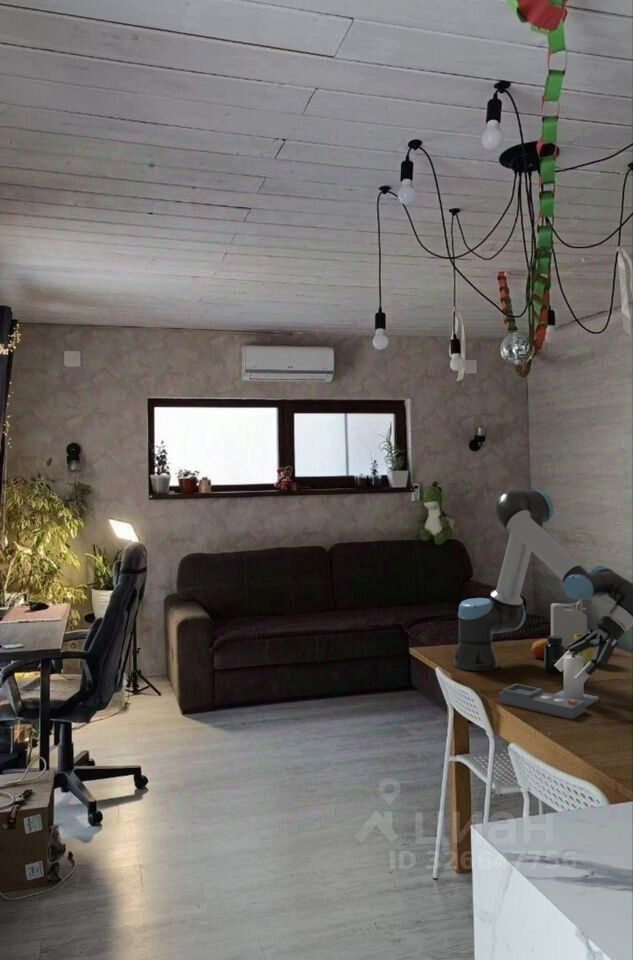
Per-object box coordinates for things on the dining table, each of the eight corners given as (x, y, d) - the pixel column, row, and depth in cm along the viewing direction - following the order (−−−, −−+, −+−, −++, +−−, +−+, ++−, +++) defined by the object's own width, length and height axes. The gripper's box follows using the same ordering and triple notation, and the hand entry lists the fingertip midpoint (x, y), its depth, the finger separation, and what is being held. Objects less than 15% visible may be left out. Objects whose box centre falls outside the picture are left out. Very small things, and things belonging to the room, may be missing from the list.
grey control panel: (499, 702, 208) (499, 689, 208) (513, 695, 215) (513, 682, 215) (572, 719, 193) (572, 704, 193) (585, 711, 200) (585, 697, 200)
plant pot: (597, 659, 260) (597, 632, 260) (609, 666, 250) (609, 638, 250) (569, 659, 260) (569, 633, 260) (581, 666, 249) (580, 639, 249)
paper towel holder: (560, 697, 211) (560, 651, 211) (568, 693, 215) (568, 648, 215) (579, 701, 207) (578, 654, 207) (586, 697, 211) (586, 651, 211)
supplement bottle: (555, 675, 238) (554, 639, 238) (540, 670, 244) (539, 636, 244) (569, 672, 241) (569, 637, 241) (554, 668, 247) (554, 634, 247)
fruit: (556, 658, 256) (544, 637, 258) (537, 666, 260) (525, 646, 262) (561, 653, 263) (549, 634, 265) (542, 662, 266) (531, 642, 269)
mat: (547, 700, 210) (547, 697, 210) (563, 692, 218) (563, 689, 218) (584, 708, 203) (584, 705, 203) (599, 699, 211) (599, 696, 211)
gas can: (590, 647, 279) (590, 584, 279) (593, 650, 274) (593, 586, 274) (550, 646, 281) (550, 583, 281) (553, 649, 276) (553, 585, 276)
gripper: (646, 641, 200) (596, 695, 198) (602, 623, 225) (557, 672, 223) (629, 622, 199) (578, 677, 198) (586, 607, 224) (541, 655, 223)
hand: (567, 674), depth 210 cm, fingers open, 13 cm apart
